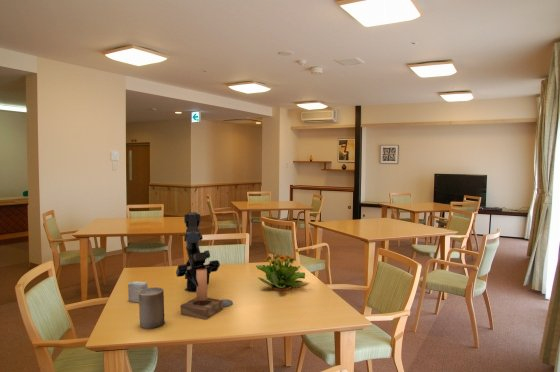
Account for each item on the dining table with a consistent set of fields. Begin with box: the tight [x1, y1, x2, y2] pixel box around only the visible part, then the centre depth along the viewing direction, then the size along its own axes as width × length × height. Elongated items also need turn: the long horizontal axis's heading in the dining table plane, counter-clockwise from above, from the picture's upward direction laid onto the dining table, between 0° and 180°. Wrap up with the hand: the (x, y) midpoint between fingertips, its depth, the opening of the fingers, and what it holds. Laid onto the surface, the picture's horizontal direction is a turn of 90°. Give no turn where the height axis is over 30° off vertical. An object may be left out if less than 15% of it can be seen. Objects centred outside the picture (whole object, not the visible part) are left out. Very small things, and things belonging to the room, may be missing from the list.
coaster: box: [222, 299, 233, 308], centre depth 184 cm, size 8×8×1 cm
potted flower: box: [255, 253, 306, 292], centre depth 206 cm, size 25×24×18 cm
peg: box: [196, 268, 208, 301], centre depth 174 cm, size 4×4×13 cm
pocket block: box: [180, 296, 224, 320], centre depth 175 cm, size 13×13×4 cm
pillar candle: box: [138, 287, 166, 330], centre depth 161 cm, size 10×10×15 cm
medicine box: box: [127, 280, 149, 303], centre depth 188 cm, size 8×4×9 cm, turn 74°
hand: (202, 285), depth 173 cm, fingers closed on peg, 4 cm apart
